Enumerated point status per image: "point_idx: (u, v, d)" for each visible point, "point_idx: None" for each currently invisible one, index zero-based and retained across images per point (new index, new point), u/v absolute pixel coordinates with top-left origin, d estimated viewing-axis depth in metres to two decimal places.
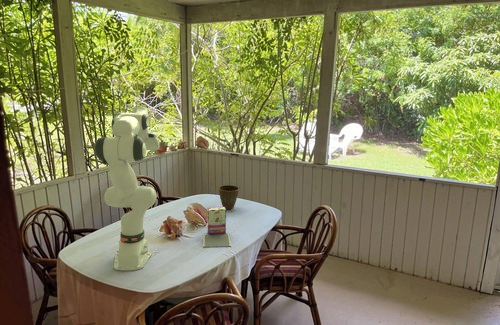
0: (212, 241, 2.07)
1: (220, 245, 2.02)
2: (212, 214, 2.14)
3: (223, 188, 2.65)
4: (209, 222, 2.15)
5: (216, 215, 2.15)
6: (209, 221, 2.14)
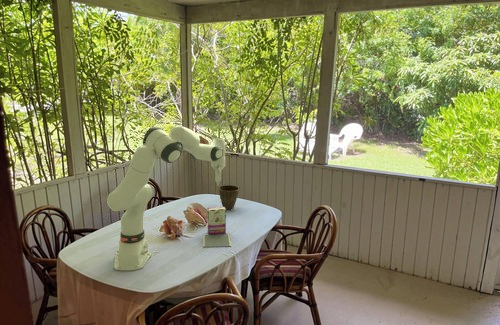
0: (212, 241, 2.07)
1: (220, 245, 2.02)
2: (212, 214, 2.14)
3: (223, 188, 2.65)
4: (209, 222, 2.15)
5: (216, 215, 2.15)
6: (209, 221, 2.15)
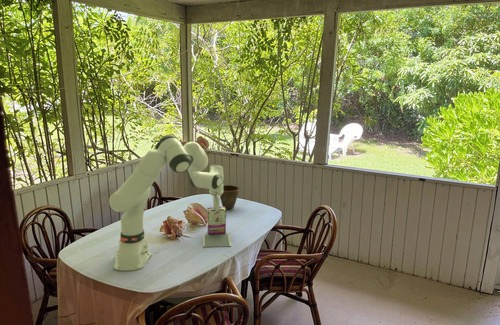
0: (212, 241, 2.07)
1: (220, 245, 2.02)
2: (212, 214, 2.14)
3: (223, 188, 2.65)
4: (209, 222, 2.14)
5: (216, 215, 2.14)
6: (209, 221, 2.14)
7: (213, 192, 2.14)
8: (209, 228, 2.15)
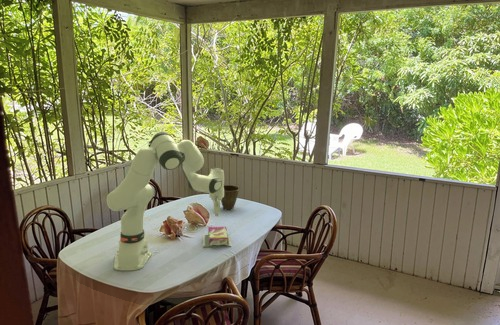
0: None
1: (220, 245, 2.02)
2: None
3: None
4: None
5: None
6: None
7: (213, 196, 2.06)
8: None
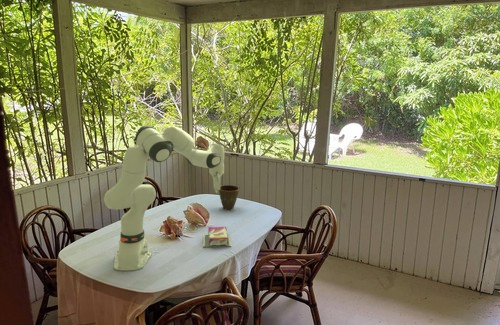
0: None
1: (220, 245, 2.02)
2: None
3: (223, 188, 2.65)
4: None
5: None
6: None
7: (213, 172, 2.05)
8: None
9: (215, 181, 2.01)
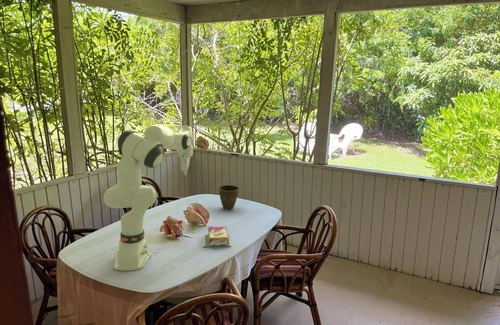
0: None
1: (220, 245, 2.02)
2: None
3: (223, 188, 2.65)
4: None
5: None
6: None
7: (181, 154, 2.05)
8: None
9: (182, 162, 2.00)
